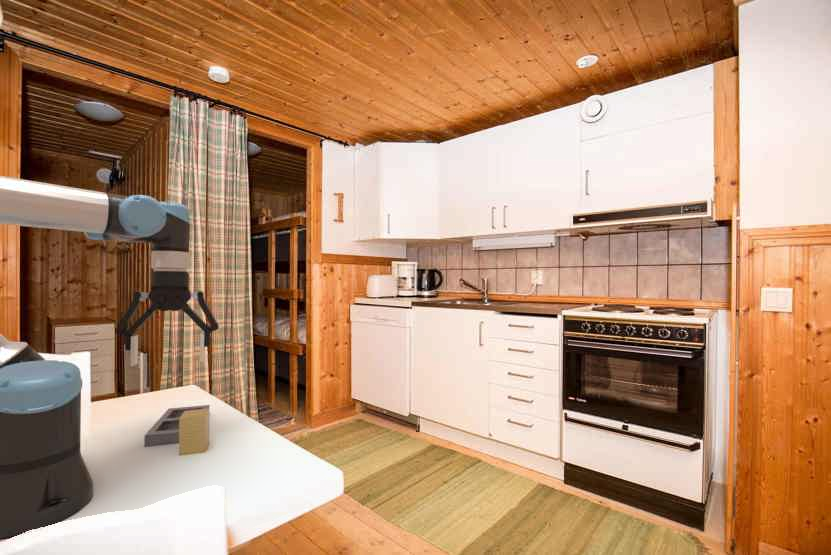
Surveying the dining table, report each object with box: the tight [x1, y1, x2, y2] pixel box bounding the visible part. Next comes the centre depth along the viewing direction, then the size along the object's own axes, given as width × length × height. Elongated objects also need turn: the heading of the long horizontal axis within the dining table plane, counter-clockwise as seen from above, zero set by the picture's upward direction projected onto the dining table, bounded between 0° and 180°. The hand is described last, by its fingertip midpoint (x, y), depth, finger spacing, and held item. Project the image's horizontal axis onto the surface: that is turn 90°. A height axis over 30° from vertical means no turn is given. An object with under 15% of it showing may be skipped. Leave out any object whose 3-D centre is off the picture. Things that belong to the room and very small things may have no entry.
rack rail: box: [144, 404, 211, 448], centre depth 101 cm, size 20×10×2 cm, turn 18°
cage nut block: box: [178, 409, 210, 456], centre depth 88 cm, size 5×5×8 cm
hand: (169, 362), depth 92 cm, fingers open, 13 cm apart
